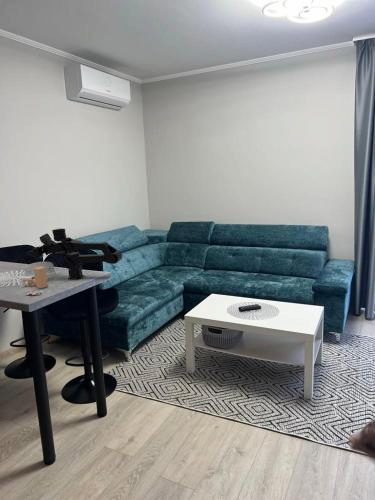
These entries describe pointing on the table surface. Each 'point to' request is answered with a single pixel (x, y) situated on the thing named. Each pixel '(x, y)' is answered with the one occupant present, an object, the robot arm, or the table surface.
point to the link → (39, 277)
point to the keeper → (22, 281)
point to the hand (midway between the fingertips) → (31, 251)
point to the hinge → (48, 266)
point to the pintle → (32, 284)
